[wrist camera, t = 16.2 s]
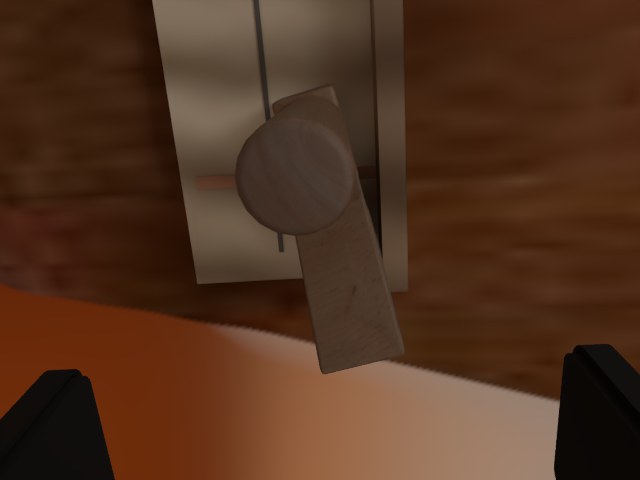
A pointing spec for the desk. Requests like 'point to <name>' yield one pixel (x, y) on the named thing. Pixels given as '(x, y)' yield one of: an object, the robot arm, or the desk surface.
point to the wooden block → (322, 225)
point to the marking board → (256, 108)
